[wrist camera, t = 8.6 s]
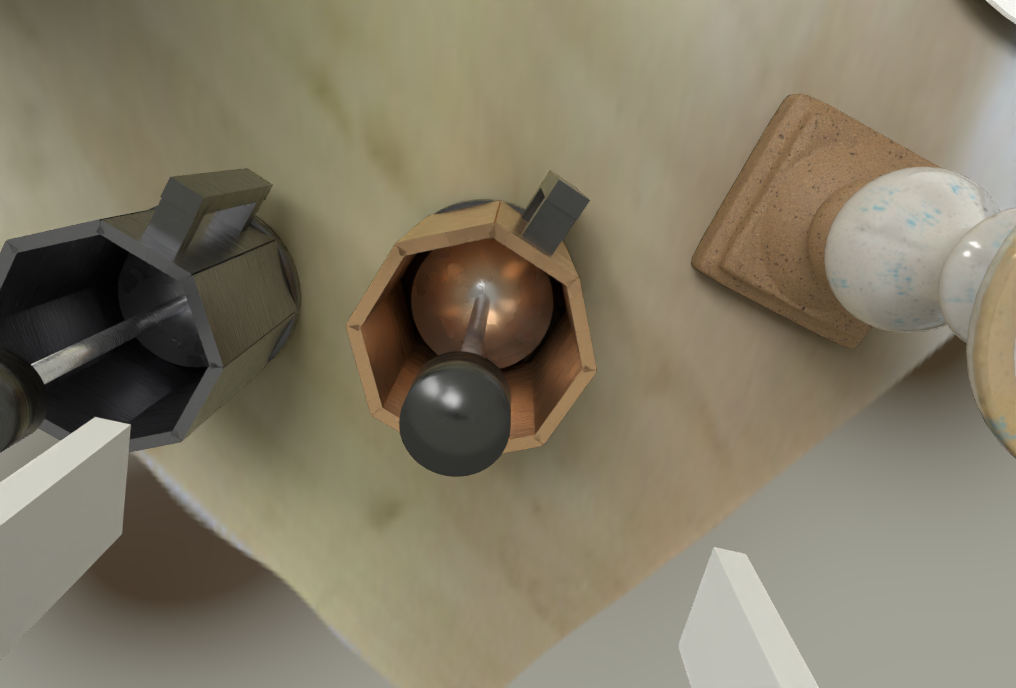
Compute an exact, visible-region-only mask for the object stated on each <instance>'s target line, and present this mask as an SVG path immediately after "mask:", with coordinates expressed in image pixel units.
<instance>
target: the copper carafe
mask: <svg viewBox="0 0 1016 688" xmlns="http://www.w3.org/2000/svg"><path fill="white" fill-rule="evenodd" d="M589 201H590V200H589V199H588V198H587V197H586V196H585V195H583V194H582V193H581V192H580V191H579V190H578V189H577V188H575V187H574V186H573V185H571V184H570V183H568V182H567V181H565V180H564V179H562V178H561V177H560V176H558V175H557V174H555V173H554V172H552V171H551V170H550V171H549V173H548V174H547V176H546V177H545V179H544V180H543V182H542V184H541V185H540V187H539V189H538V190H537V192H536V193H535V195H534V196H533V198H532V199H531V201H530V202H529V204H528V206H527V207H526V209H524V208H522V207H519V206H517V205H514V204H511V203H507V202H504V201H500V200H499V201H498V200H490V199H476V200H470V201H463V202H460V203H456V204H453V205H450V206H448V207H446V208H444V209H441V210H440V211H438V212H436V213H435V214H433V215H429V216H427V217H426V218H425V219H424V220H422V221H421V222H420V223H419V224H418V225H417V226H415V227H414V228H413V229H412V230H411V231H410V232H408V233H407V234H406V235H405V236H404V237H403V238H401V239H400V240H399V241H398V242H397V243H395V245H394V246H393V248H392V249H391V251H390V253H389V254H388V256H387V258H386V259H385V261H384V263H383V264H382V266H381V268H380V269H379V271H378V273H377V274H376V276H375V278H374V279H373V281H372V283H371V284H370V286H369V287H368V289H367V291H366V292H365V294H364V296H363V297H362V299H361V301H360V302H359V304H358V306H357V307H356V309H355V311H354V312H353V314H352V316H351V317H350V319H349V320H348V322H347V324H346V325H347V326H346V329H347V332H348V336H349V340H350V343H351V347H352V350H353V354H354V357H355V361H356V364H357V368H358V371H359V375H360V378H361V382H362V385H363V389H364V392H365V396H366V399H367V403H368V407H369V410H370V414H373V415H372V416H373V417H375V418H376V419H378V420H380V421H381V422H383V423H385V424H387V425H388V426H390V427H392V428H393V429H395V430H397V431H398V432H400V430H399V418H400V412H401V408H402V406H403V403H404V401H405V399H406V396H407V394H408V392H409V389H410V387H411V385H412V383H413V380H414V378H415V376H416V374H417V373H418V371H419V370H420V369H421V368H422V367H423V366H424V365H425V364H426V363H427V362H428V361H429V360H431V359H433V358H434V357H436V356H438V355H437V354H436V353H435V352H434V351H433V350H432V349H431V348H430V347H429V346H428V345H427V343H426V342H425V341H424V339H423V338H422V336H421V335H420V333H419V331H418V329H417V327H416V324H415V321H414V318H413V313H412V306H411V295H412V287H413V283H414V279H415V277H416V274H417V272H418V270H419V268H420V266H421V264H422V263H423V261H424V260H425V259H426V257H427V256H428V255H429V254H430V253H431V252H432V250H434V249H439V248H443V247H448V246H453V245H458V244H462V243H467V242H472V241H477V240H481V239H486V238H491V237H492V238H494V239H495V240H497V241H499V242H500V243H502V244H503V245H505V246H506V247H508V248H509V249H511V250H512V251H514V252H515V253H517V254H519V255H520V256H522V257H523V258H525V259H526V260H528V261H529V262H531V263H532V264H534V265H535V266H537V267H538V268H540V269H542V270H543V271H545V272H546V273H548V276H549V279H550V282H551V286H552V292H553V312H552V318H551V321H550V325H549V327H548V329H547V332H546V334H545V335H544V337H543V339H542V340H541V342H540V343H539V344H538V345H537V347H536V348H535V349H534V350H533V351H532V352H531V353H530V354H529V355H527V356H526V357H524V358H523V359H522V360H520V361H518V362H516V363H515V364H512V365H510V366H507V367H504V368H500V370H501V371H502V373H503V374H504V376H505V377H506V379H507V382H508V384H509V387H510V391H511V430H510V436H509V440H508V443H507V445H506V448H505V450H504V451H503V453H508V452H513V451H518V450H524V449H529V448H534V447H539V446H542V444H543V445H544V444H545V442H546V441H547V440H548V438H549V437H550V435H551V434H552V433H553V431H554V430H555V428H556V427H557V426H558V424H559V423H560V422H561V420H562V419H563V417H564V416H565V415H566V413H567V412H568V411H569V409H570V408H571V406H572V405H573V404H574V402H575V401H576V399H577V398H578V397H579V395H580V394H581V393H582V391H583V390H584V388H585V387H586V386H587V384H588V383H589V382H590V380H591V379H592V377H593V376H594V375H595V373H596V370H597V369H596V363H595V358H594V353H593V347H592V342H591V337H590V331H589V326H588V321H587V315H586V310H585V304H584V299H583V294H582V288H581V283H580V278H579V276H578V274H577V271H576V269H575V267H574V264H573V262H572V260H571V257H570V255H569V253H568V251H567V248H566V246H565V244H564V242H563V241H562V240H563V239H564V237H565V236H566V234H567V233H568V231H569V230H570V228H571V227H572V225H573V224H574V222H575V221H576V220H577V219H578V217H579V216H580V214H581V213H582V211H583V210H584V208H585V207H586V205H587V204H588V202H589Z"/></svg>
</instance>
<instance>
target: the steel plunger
mask: <svg viewBox="0 0 1016 688" xmlns="http://www.w3.org/2000/svg"><path fill="white" fill-rule="evenodd" d="M118 298H119V304H120V308H121V312H122V315H123V317H124V319H125V321H123V322H121V323H119V324H117V325H115V326H113V327H110V328H108V329H106V330H104V331H102V332H100V333H97V334H95V335H93V336H91V337H89V338H87V339H85V340H82V341H80V342H78V343H76V344H74V345H72V346H69V347H67V348H65V349H63V350H61V351H59V352H57V353H54V354H52V355H50V356H48V357H46V358H44V359H41V360H39V361H37V362H35V363H33V364H30V363H29V362H28V361H26V360H25V359H24V358H22V357H21V356H19V355H18V354H16V353H14V352H12V351H10V350H7V349H4V348H0V452H2V451H4V450H5V449H7V448H9V447H10V446H12V445H14V444H15V443H17V442H19V441H20V440H22V439H24V438H25V437H27V436H28V435H30V434H32V433H33V432H35V431H36V430H37V429H38V428H39V427H40V426H41V424H42V423H43V421H44V419H45V417H46V414H47V410H48V395H47V390H46V387H45V385H44V384H46V383H48V382H50V381H52V380H54V379H56V378H58V377H59V376H61V375H63V374H65V373H67V372H69V371H71V370H73V369H75V368H77V367H79V366H81V365H83V364H85V363H86V362H88V361H90V360H92V359H94V358H96V357H98V356H100V355H102V354H104V353H106V352H108V351H110V350H112V349H113V348H115V347H117V346H119V345H121V344H123V343H125V342H127V341H129V340H131V339H133V338H135V337H136V338H137V339H138V340H139V341H140V342H141V344H142V345H143V346H145V347H146V348H147V349H148V350H149V351H151V352H152V353H154V354H155V355H157V356H158V357H160V358H162V359H164V360H166V361H168V362H171V363H174V364H177V365H181V366H186V367H208V366H209V362H208V359H207V357H206V354H205V351H204V348H203V345H202V342H201V339H200V336H199V333H198V330H197V327H196V324H195V322H194V319H193V316H192V313H191V310H190V307H189V304H188V301H187V298H186V295H185V292H184V289H183V287H182V284H181V282H179V281H177V280H176V279H174V278H172V277H171V276H169V275H167V274H166V273H164V272H162V271H161V270H159V269H157V268H156V267H154V266H152V265H151V264H149V263H147V262H146V261H144V260H142V259H141V258H139V257H137V256H135V255H134V254H132V253H129V255H128V256H127V258H126V260H125V261H124V264H123V266H122V268H121V271H120V275H119V281H118Z"/></svg>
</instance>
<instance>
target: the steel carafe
mask: <svg viewBox="0 0 1016 688" xmlns="http://www.w3.org/2000/svg"><path fill="white" fill-rule="evenodd" d="M272 186H273V184H271V183H270V182H268V181H266V180H265V179H263V178H262V177H260V176H259V175H257V174H255V173H254V172H252V171H251V170H249V169H247V168H246V169H237V170H228V171H219V172H210V173H201V174H192V175H183V176H174V177H170V179H169V181H168V183H167V185H166V187H165V189H164V191H163V193H162V195H161V198H162V199H161V201H160V203H159V205H158V206H156V207H153V208H151V209H149V210H146V211H141V212H136V213H131V214H125V215H120V216H115V217H110V218H105V219H100V220H95V221H91V222H86V223H82V224H77V225H72V226H68V227H63V228H59V229H54V230H50V231H45V232H41V233H36V234H32V235H27V236H23V237H18V238H14V239H9V240H7V241H5V243H4V246H3V248H2V250H1V252H0V348H4V349H7V350H10V351H12V352H14V353H16V354H18V355H19V356H21V357H22V358H24V359H25V360H26V361H28V362H29V363H30V364H33V363H35V362H37V361H39V360H41V359H44V358H46V357H48V356H50V355H52V354H54V353H57V352H59V351H61V350H63V349H65V348H67V347H69V346H72V345H74V344H76V343H78V342H80V341H82V340H85V339H87V338H89V337H91V336H93V335H95V334H97V333H100V332H102V331H104V330H106V329H108V328H110V327H113V326H115V325H117V324H119V323H121V322H123V321H125V319H124V317H123V315H122V312H121V308H120V304H119V298H118V281H119V275H120V271H121V268H122V266H123V264H124V261H125V260H126V258H127V256H128V255H129V253H132V254H134V255H135V256H137V257H139V258H141V259H142V260H144V261H146V262H147V263H149V264H151V265H152V266H154V267H156V268H157V269H159V270H161V271H162V272H164V273H166V274H167V275H169V276H171V277H172V278H174V279H176V280H177V281H179V282H181V284H182V287H183V289H184V292H185V295H186V298H187V301H188V304H189V307H190V310H191V313H192V316H193V319H194V322H195V324H196V327H197V330H198V333H199V336H200V339H201V342H202V345H203V348H204V351H205V354H206V357H207V359H208V362H209V366H208V367H186V366H181V365H177V364H174V363H171V362H168V361H166V360H164V359H162V358H160V357H158V356H157V355H155V354H154V353H152V352H151V351H149V350H148V349H147V348H146V347H145V346H143V345H142V344H141V342H140V341H139V340H138V339H137V338H136V337H135V338H133V339H131V340H129V341H127V342H125V343H123V344H121V345H119V346H117V347H115V348H113V349H112V350H110V351H108V352H106V353H104V354H102V355H100V356H98V357H96V358H94V359H92V360H90V361H88V362H86V363H85V364H83V365H81V366H79V367H77V368H75V369H73V370H71V371H69V372H67V373H65V374H63V375H61V376H59V377H58V378H56V379H54V380H52V381H50V382H48V383H46V384H44V385H45V387H46V390H47V395H48V410H47V414H46V417H45V419H44V421H43V423H42V424H41V426H40V427H39V429H41V430H43V431H44V432H46V433H48V434H50V435H52V436H53V437H55V438H57V439H59V440H63V439H64V438H65V437H67V436H68V435H70V434H71V433H73V432H74V431H76V430H77V429H78V428H80V427H81V426H83V425H84V424H86V423H87V422H89V421H90V420H92V419H93V418H94V417H97V418H102V419H107V420H112V421H116V422H121V423H126V424H131V429H130V441H129V452H133V451H138V450H143V449H148V448H154V447H159V446H164V445H169V444H174V443H179V442H182V441H183V440H184V439H185V438H186V437H188V436H189V435H190V434H191V433H192V432H193V431H194V430H195V429H196V428H198V427H199V426H200V425H201V424H202V423H203V422H204V421H205V420H206V419H208V418H209V417H210V416H211V415H212V414H213V413H214V412H215V411H216V410H218V409H219V408H220V407H221V406H222V405H223V404H224V403H225V402H226V401H227V400H229V399H230V398H231V397H232V396H233V395H234V394H235V393H236V392H237V391H239V390H240V389H241V388H242V387H243V386H244V385H245V384H246V383H247V382H249V381H250V380H251V379H252V378H253V377H254V376H255V375H256V374H257V373H259V372H260V371H261V370H262V369H263V368H264V367H265V365H266V364H267V362H269V361H270V360H271V359H272V358H273V357H274V356H276V355H277V354H278V352H279V351H280V350H281V349H282V348H283V347H284V346H285V344H286V343H287V341H288V340H289V338H290V337H291V335H292V333H293V331H294V329H295V326H296V323H297V320H298V316H299V310H300V299H301V293H300V283H299V278H298V274H297V270H296V268H295V265H294V262H293V260H292V258H291V256H290V254H289V252H288V250H287V248H286V247H285V245H284V244H283V242H282V241H281V239H280V238H279V237H278V236H277V235H276V233H275V232H274V231H273V230H272V229H271V228H270V227H269V226H268V225H267V224H266V223H265V222H263V221H262V220H261V219H260V218H258V217H257V216H255V215H256V213H257V211H258V209H259V208H260V206H261V204H262V202H263V200H265V198H266V197H267V195H268V193H269V191H270V189H271V187H272Z"/></svg>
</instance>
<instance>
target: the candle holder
mask: <svg viewBox="0 0 1016 688" xmlns="http://www.w3.org/2000/svg"><path fill="white" fill-rule="evenodd" d="M691 264H692V265H693V266H694V267H695V268H696V269H697V270H699V271H700V272H702V273H704V274H705V275H707V276H709V277H710V278H712V279H714V280H715V281H717V282H719V283H720V284H722V285H724V286H726V287H728V288H730V289H732V290H734V291H736V292H737V293H739V294H741V295H743V296H745V297H747V298H749V299H751V300H753V301H755V302H757V303H759V304H761V305H763V306H764V307H766V308H768V309H770V310H772V311H774V312H776V313H778V314H780V315H782V316H784V317H786V318H788V319H790V320H791V321H793V322H795V323H797V324H799V325H801V326H803V327H805V328H807V329H809V330H811V331H813V332H815V333H817V334H818V335H820V336H822V337H824V338H826V339H828V340H831V341H833V342H835V343H837V344H840V345H842V346H844V347H847V348H852V349H854V348H855V347H856V346H857V345H858V344H859V343H860V342H861V340H862V339H863V338H864V336H865V335H866V334H867V332H868V331H869V330H870V329H871V328H872V327H875V328H879V329H883V330H887V331H891V332H901V333H911V332H924V331H929V330H933V329H937V328H940V327H943V326H945V325H948V326H949V327H950V329H951V330H952V331H953V332H954V333H955V334H956V335H957V336H958V337H959V338H960V339H961V340H963V341H964V342H966V343H967V348H966V351H967V364H968V376H969V380H970V384H971V388H972V392H973V396H974V400H975V402H976V404H977V406H978V408H979V410H980V413H981V415H982V417H983V419H984V421H985V423H986V425H987V426H988V427H989V429H990V430H991V431H992V433H993V434H994V435H995V437H996V438H997V440H998V441H999V442H1000V444H1001V445H1002V446H1003V447H1004V448H1005V449H1006V450H1007V451H1008V452H1009V453H1010V454H1011V455H1012V456H1013V457H1015V458H1016V208H1012V209H1007V210H1004V211H1001V212H1000V210H999V208H998V206H997V205H996V203H995V202H994V200H993V199H992V197H991V196H990V195H989V194H988V193H987V192H986V191H985V190H984V189H983V188H982V187H980V186H979V185H978V184H976V183H975V182H974V181H972V180H971V179H969V178H967V177H965V176H963V175H961V174H958V173H956V172H953V171H950V170H946V169H942V168H940V167H938V166H936V165H935V164H933V163H931V162H929V161H928V160H926V159H924V158H922V157H921V156H919V155H917V154H915V153H913V152H912V151H910V150H908V149H906V148H905V147H903V146H901V145H899V144H897V143H896V142H894V141H892V140H890V139H889V138H887V137H885V136H883V135H881V134H880V133H878V132H876V131H874V130H873V129H871V128H869V127H867V126H865V125H864V124H862V123H860V122H858V121H857V120H855V119H853V118H851V117H849V116H848V115H846V114H844V113H842V112H841V111H839V110H837V109H835V108H833V107H832V106H830V105H828V104H825V103H823V102H821V101H819V100H817V99H815V98H812V97H810V96H808V95H804V94H794V95H789V96H788V97H787V98H786V99H784V100H783V102H782V104H781V105H780V107H779V108H778V110H777V111H776V113H775V114H774V116H773V118H772V119H771V121H770V122H769V124H768V126H767V127H766V129H765V131H764V132H763V134H762V136H761V138H760V139H759V141H758V143H757V144H756V146H755V148H754V150H753V151H752V153H751V155H750V157H749V158H748V160H747V162H746V163H745V165H744V167H743V169H742V170H741V172H740V174H739V175H738V177H737V179H736V181H735V182H734V184H733V186H732V188H731V189H730V191H729V193H728V194H727V196H726V198H725V200H724V201H723V203H722V205H721V206H720V208H719V210H718V212H717V213H716V215H715V217H714V218H713V220H712V222H711V224H710V225H709V227H708V229H707V231H706V232H705V234H704V236H703V238H702V240H701V242H700V243H699V245H698V247H697V249H696V251H695V253H694V255H693V257H692V262H691Z"/></svg>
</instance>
